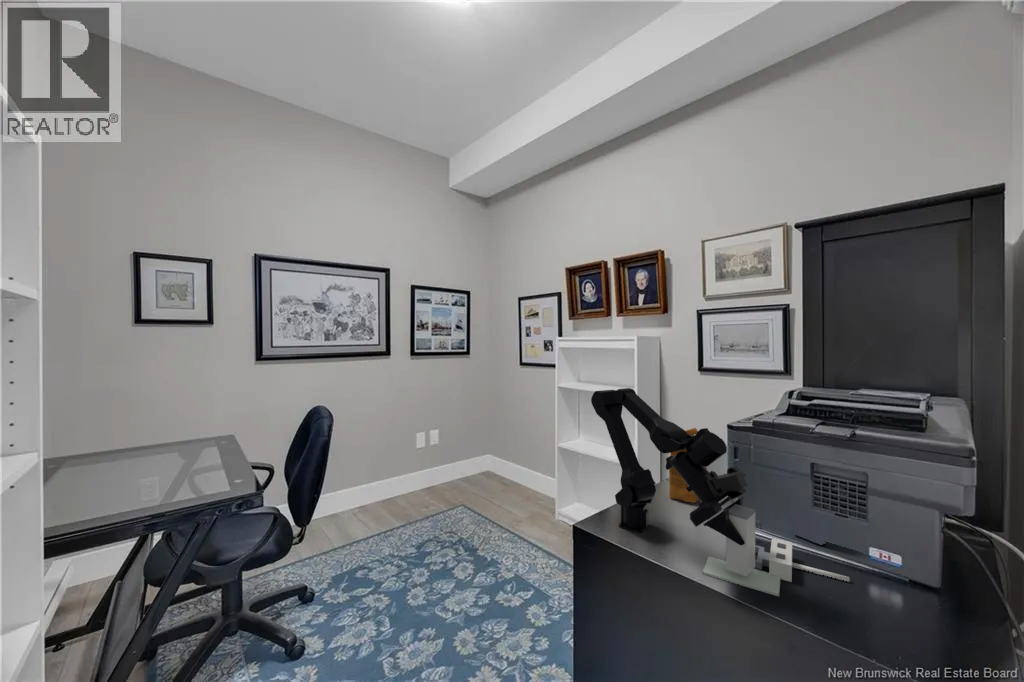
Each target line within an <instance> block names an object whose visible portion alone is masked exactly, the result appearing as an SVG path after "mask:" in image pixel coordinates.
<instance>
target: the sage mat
mask: <svg viewBox="0 0 1024 682" xmlns="http://www.w3.org/2000/svg"><path fill="white" fill-rule="evenodd" d="M702 575H705V576H708V577H712V578H716V579H718V578H719V580H721V581H725V580H726V581H725V582H728V581H729V582H728V583H732V584H735V585H738V584H739V586H742V587H745V588H749V589H753V590H756V591H759V592H763V593H765V594H769V595H773V596H775V597H778V598H780V590H781V589H780V588H781V579H780V577H779V576H776V575H772V574H769V572H767V571H764V570H760V569H756V568H754V569H753V570H752V571H751V572H750V573H749V575H748V576H747V577H746V576H743V575H741V574H738V573H735V572H733V571H730V570H728V569H726V560H723V559H719V558H716V557H712V556H708V558H707V561H706V563H705V565H704V567H703V570H702Z"/></svg>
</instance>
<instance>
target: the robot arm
mask: <svg viewBox="0 0 1024 682" xmlns="http://www.w3.org/2000/svg"><path fill="white" fill-rule="evenodd" d="M590 403H591V405H592V407H593V409H594V411H595V414H597V416H598V417H600V419H601V420H602V421H604V423H605V426H606V429H607V431H608V434H609V438H610V440H611V443H612V446H613V448H614V451H615V455H616V456H617V460H618V462H619V465H620V467H621V476H620V485H621V489H620V490H619V491H617V493H615V494H614V497H615V498H614V499H615V502H616V504H617V505H619V506H620V522H619V523H618V527H620V528H623V529H627V530H630V531H633V532H637V533H643V532H644V531H645V530H646V529H647V527H648V526H649V522H650V516H649V515H650V511H649V509H648V507H647V506H648V504H652V501H653V498H654V497H655V494H656V490H657V489H656V486H655V485H656V484H657V483H656V481H655V480H654V477H653V475H652V471H651V470H650V469H649V468H647V469H645V468H643V467H642V466H641V465H640V463H639V460H638V458H637V455H636V452H635V450H634V447H633V444H632V441H631V439H630V436H629V433H628V431H627V428H626V426H625V423H624V420H623V418H622V414H623V413H622V412H623V407H624V408H625V409H626V410H627V412H629V413H630V414H631V415H632V417H634V418H635V419H636V420H637V421H638V422H639V423H640V424H641V426H643V427H644V428H645V429H646V431H647V432H648V435H649V439H650V441H651V442H652V444H653V445H654V446H655V448H656V449H657V450H658V451H659V452H660V453H661V454H671V453H672V452H677V451H682V450H685V449H686V450H687V451H686V452H679V453H677V454H676V455H675V456H674V457H673V456H668V457H665V461H666V462H665V470H667V471H669V469H670V468H672V467H674V468H675V469H676V471H677V472H678V473H679V474H680V476H681V477H682V478H683V480H684V481H685V482H686V483H687V485H688V486H689V487H687V488H686V489H687V490H688V492H690V491H693V492H694V494H695V495H696V496H697V497H698V499H699V500H698V501H699V504H698V507H696V508H694V510H692V511H691V512H690V513H689V521H691V523H692V524H693V525H694V527H698V526H700V525H701V524H703V526H704V527H708V528H710V529H711V530H713V531H715V532H718V533H719V534H721V535H722V536H724V537H728V538H729V539H731V540H732V541H734V542H736V543H737V544H739V545H743V544H745V542H744V540H743V538H742V537H741V535H740V534H739V532H738V531H737V529H736V528H735V526H734V525H733V523H732V522H731V520H730V519H729V509H730V508H731V507H733V506H734V505H735V504H737V505H740V506H743V503H744V497H745V496H742V495H744V493H746V492H747V490H746V489H745V488H744V487H747V486H748V483H747V481H746V478H747V474H746V473H745V472H743V470H742V469H739V467H738V466H736V465H735V466H731V467H728V468H727V469H726V473H724V474H721V475H718V474H717V473H716V472H715V471H713V470H711V471H709V470H708V468H707V467H709V466H711V465H712V464H714V462H716V461H717V460H718V459H720V458H721V457H723V456H724V455H725V454H726V453H727V451H728V447H727V444H726V442H725V441H724V440H723V438H720V437H719V435H717V434H715V433H713V432H712V431H710V430H709V429H708V428H707V427H706V428H705V427H704V428H700V429H699V430H697V431H698V432H697V434H695V435H694V436H691V435H689V434H687V433H686V432H685V431H686V430H684V428H682V427H681V426H679V425H677V424H676V423H674V422H673V421H669V420H667V419H665V418H663V417H662V416H661V415H660V414H659V413H657V411H655V410H654V409H653V408H652V407H651V406H650V405H648V404H647V403H646V402H645V401H644V400H643V399H642V397H640V396H639V395H638V394H637V393H636V391H635V389H634V388H630V387H624V388H618V389H604V390H603V389H602V390H595V391H594V392H593V394H592V396H591V399H590ZM704 466H706V468H705V467H704ZM740 496H741V497H740ZM738 497H739V498H738ZM704 522H705V523H704Z"/></svg>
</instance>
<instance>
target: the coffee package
mask: <svg viewBox="0 0 1024 682" xmlns="http://www.w3.org/2000/svg"><path fill="white" fill-rule="evenodd" d="M698 431H699V430H698V429H697V428H696V427H694V428H693V427H692V428H690V429H686V430H685V432H686V433H687V434H689V435H691V436H695V435H696V434H697V432H698ZM686 451H687V450H686V449H685V450H682V451H677V452H672V453H670V456H673V457H674V456H675V455H676V454H677V453H679V452H686ZM670 456H669V457H670ZM704 467H705V468H706V469H707V467H706V466H704ZM668 473H669V474H668V475H669V481H668V482H669V498H670V499H671V500H679V501H683V502H686V503H693V504H695V503H697V501H700V500H699V499H698V497H697V496H696V495H695V494H694V492H693V491H690V492H688V490H687V489H686V488H687V487H689V486H688V485H687V483H686V482H685V481H684V480H683V478H682V477H681V476H680V474H679V473H678V472H677V471H676V469H675V468H674V467H672V468H670V469H669V470H668Z"/></svg>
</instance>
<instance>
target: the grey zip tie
mask: <svg viewBox="0 0 1024 682" xmlns="http://www.w3.org/2000/svg"><path fill="white" fill-rule="evenodd" d="M755 554H757V558H756V559H755V567H754V569H756V570H760V571H763V567H766V568H768V569H769V571H768V573H769V574H772V575H776V576H779V577H780V580H782V581H786V582H790V583H793V582H792V581H793V580H792V579H793V578H792V577H793V576H792V575H793V569H797V570H801V571H804V570H805V572H808V571H809V573H812V572H813V574H817V575H819V576H820V575H821V576H823V575H824V576H823V577H827V576H828V577H827V578H831V577H832V578H831V579H835V578H836V579H837V580H840V581H843V580H844V581H843V582H846V581H847V583H850V576H846V575H843V574H839V573H835V572H831V571H827V570H822V569H819V568H816V567H811V566H807V565H804V564H801V563H796V562H793V542H791V541H787V540H782V539H780V538H774V537H772V538H771V543H770V552H767V551H765V547H764V546H761V545H758V544H757V545H756V544H755Z"/></svg>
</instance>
